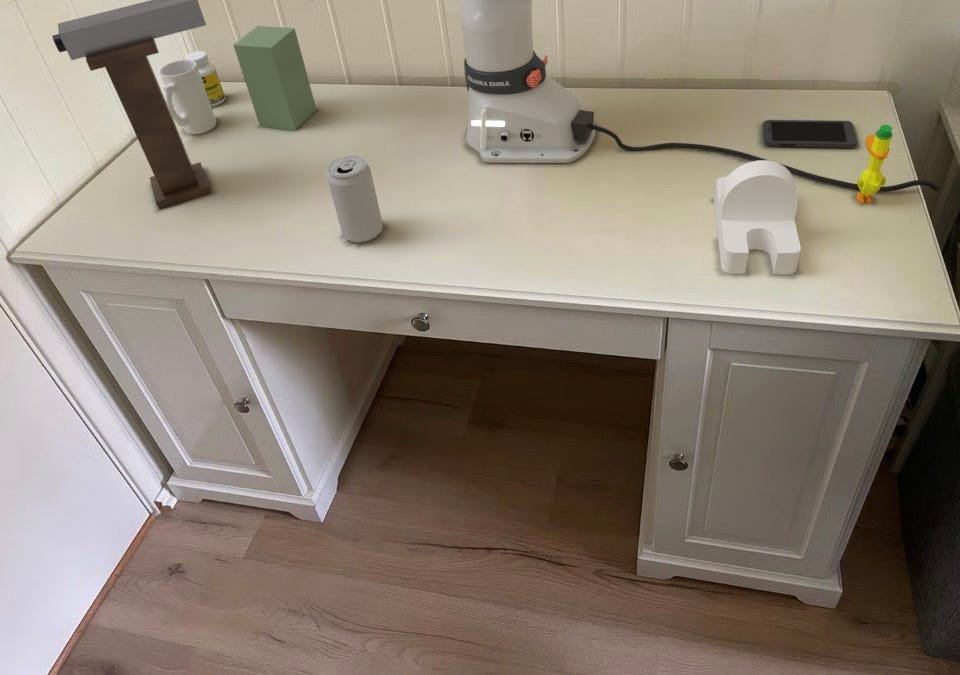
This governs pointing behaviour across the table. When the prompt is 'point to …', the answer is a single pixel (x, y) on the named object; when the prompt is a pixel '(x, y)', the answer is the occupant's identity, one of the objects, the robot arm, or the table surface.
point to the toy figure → (874, 163)
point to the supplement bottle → (208, 77)
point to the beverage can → (355, 198)
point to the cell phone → (809, 133)
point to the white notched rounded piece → (757, 216)
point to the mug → (187, 96)
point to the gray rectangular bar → (127, 26)
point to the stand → (152, 123)
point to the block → (275, 77)
